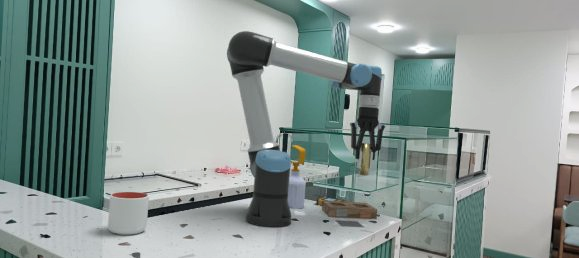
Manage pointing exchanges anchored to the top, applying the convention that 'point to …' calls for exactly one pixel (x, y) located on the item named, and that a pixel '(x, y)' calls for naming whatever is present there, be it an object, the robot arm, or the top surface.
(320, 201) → the electronic device
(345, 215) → the socket block
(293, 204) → the soap bottle
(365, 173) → the yellow tall cylinder
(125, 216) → the cup
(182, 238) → the top surface
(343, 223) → the mat
